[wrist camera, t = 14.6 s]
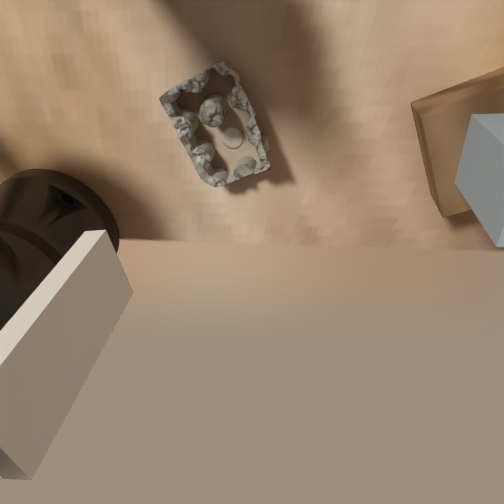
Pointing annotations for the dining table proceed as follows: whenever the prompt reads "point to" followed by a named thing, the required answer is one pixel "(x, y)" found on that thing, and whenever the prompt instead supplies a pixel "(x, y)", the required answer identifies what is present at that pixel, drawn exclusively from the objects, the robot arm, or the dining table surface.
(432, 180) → the walnut block
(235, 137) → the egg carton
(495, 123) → the slate block
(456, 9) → the dining table surface
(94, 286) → the robot arm
